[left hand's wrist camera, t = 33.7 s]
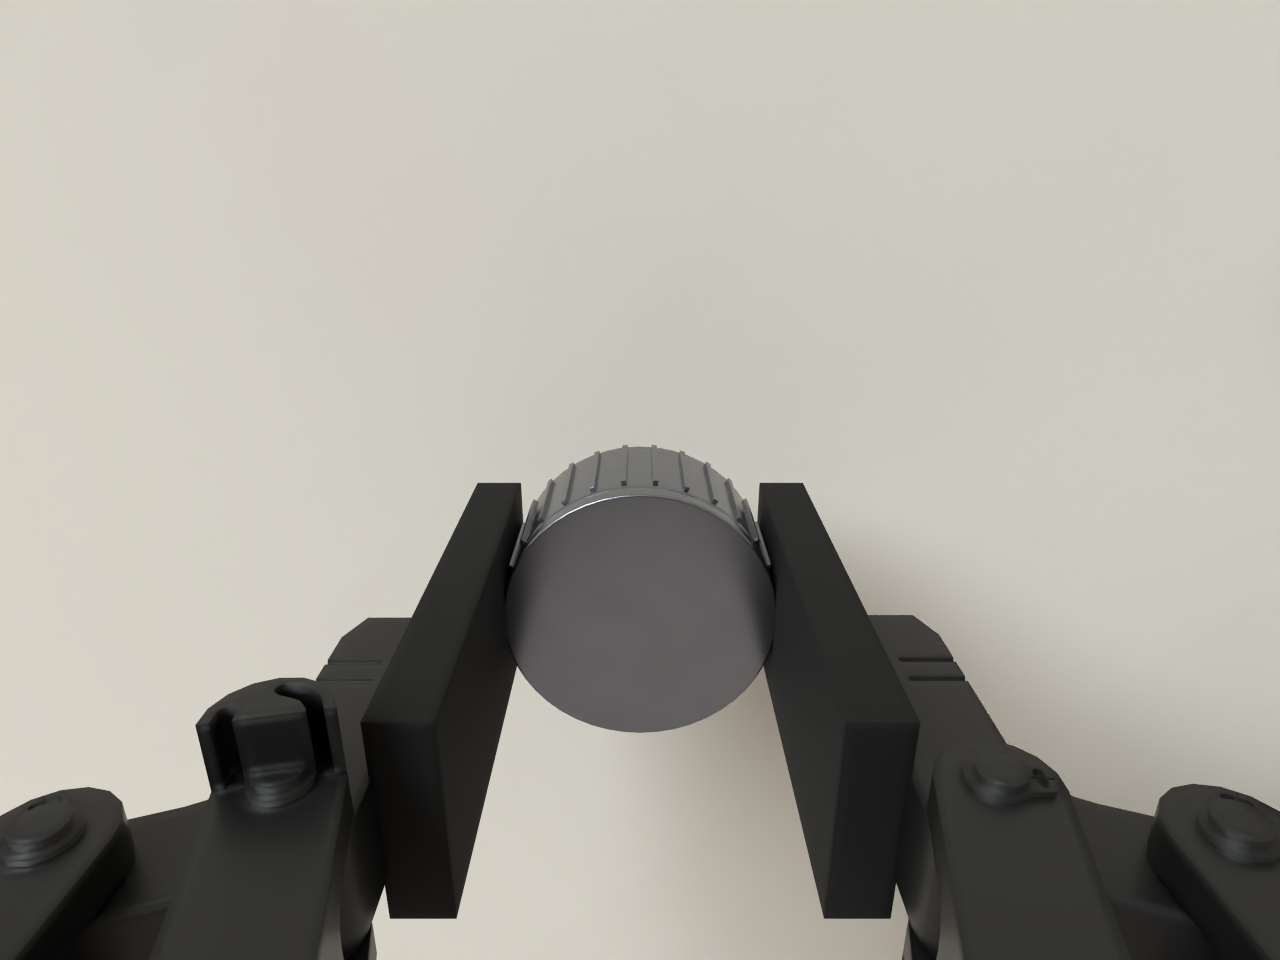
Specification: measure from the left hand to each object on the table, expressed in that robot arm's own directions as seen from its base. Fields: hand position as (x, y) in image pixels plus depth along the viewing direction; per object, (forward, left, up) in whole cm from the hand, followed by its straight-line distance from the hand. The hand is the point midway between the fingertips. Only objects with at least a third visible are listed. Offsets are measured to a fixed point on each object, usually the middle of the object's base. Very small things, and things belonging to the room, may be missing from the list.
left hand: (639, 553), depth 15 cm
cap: (0, 0, +2) cm, 2 cm away
